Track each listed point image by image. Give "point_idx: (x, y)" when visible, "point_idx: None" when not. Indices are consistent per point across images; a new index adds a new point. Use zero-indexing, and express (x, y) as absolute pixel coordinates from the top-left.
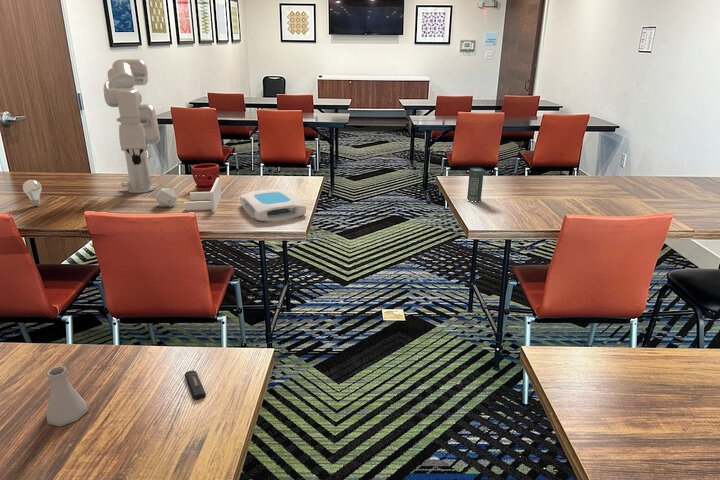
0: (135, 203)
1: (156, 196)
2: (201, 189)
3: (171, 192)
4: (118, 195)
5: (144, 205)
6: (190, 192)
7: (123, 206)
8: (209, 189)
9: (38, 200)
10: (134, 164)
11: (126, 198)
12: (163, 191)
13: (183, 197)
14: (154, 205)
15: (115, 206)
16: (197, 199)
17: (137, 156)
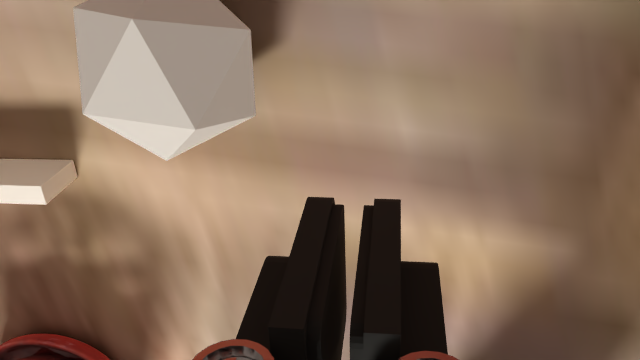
0: (471, 139)
1: (230, 23)
2: (72, 341)
3: (84, 54)
4: (634, 351)
5: (385, 74)
6: (44, 202)
7: (560, 66)
8: (23, 335)
9: None
10: (392, 199)
11: (565, 275)
12: (128, 16)
13: (154, 237)
14: (302, 64)
15: (632, 75)
16: (24, 161)
17: (273, 322)
